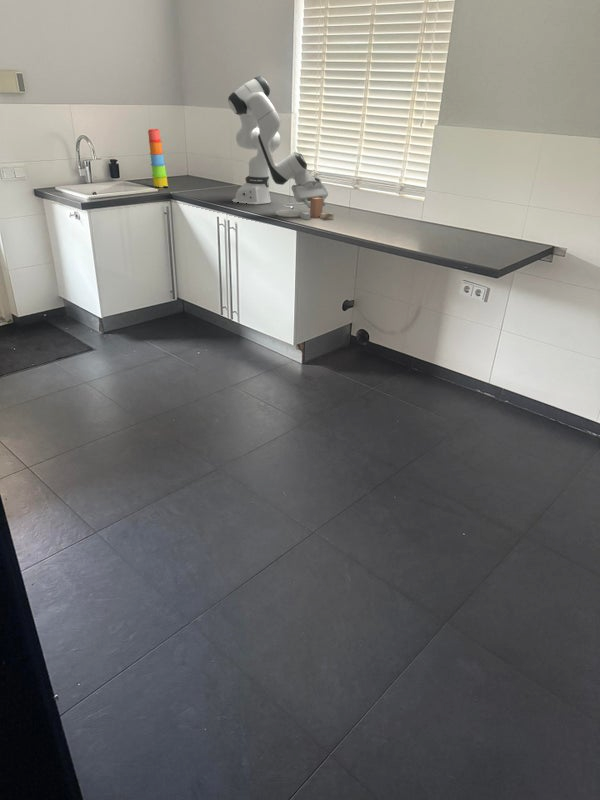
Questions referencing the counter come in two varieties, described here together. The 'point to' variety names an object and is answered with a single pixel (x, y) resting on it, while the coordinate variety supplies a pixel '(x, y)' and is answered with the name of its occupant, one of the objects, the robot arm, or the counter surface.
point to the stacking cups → (157, 158)
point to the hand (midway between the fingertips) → (317, 206)
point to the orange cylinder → (316, 206)
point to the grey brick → (305, 215)
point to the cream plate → (288, 213)
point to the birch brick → (326, 216)
